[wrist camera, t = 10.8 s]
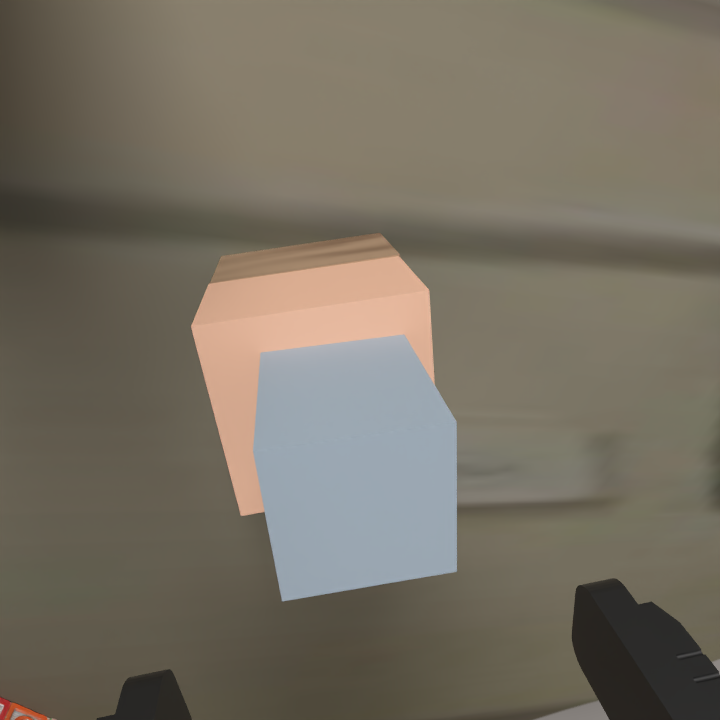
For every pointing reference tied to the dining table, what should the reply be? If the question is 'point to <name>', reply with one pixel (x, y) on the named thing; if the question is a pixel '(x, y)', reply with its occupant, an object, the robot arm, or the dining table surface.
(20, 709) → the stack of blocks
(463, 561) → the dining table surface
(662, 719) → the robot arm
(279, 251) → the tower base
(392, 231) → the dining table surface
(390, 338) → the slate block
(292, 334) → the tower top
